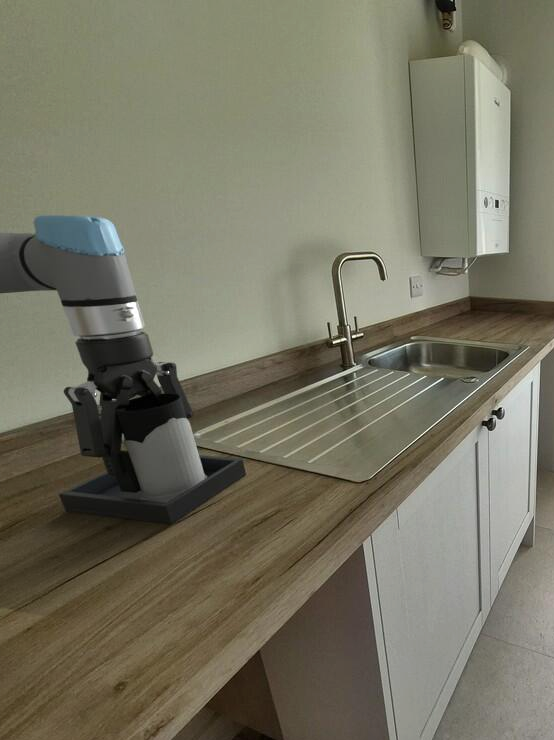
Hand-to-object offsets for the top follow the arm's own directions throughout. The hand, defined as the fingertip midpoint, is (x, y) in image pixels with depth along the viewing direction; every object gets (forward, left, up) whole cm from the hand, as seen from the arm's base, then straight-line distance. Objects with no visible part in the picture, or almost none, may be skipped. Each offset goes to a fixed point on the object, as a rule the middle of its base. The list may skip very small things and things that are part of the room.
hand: (157, 476), depth 65 cm
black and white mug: (0, 0, -2) cm, 2 cm away
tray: (0, 0, -3) cm, 3 cm away
